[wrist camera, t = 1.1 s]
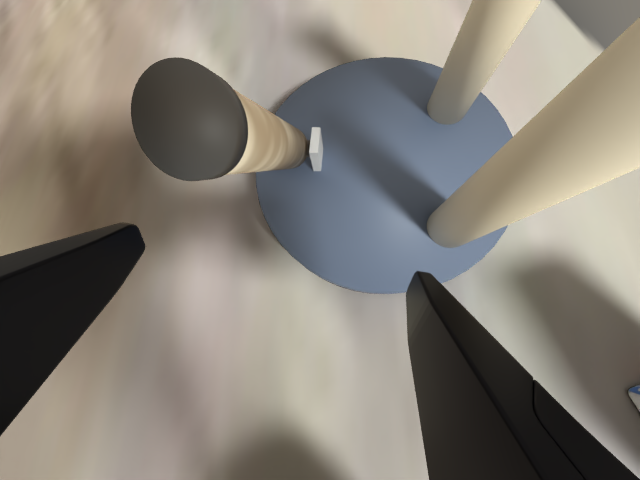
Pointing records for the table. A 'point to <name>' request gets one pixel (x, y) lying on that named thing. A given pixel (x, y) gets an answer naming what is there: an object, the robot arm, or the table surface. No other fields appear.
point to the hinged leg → (208, 125)
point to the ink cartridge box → (635, 395)
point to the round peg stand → (441, 155)
